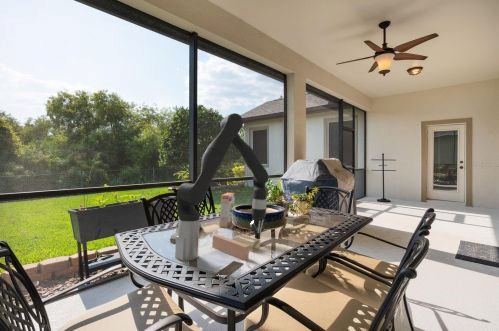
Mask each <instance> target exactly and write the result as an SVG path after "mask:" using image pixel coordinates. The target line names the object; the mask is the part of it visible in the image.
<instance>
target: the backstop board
mask: <svg viewBox="0 0 499 331" xmlns="http://www.w3.org/2000/svg"><path fill="white" fill-rule="evenodd" d="M211 244H212V245H211V246H212V249H213V248H214V249H216V250H218V251H220V252H224V253H225V254H228V255H231V256H233V257H235V258H238V259H240V260H241V261H242V260H243V261H246V260H249V256H250V255H249V254H250V253H249V252H250V251H249V245H246V244H243V243H240V242H237V241H235V239H231V238H229V237H225V236H224V235H220V234H213V235H212V243H211Z"/></svg>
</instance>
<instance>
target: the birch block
mask: <svg viewBox="0 0 499 331" xmlns="http://www.w3.org/2000/svg"><path fill="white" fill-rule="evenodd" d="M234 240H235V241H237V242H240V243H243V244H246V245H249V252H251V253H252V252H255V251H258V250H260V248H261V239H256V238H255V237H252V236H251V235H250V236H249V235H247V234H245V233H244V234H238V235H235V239H234Z"/></svg>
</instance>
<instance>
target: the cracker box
mask: <svg viewBox="0 0 499 331" xmlns="http://www.w3.org/2000/svg"><path fill="white" fill-rule="evenodd" d="M235 196H236V193H235V192H226V193H223V194H221V198H220V208H219V209H220V213H219V225H218V226H219V228H226V229H228V228H229V227H230V226H231V225H232V224H233V223H232V215H231V210H232V208H233V207H234V208H235Z"/></svg>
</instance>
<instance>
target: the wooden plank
mask: <svg viewBox="0 0 499 331" xmlns="http://www.w3.org/2000/svg"><path fill="white" fill-rule="evenodd" d="M243 265H244V263H243V262H240V261H236V260H232V261H231V262H230V263H228V264H227V265H225V266H224V267H222V269H219V270H218V271H217V272H215V273H214V274H213V276H214V275H218V274H219V275H229V274H230V275H232V274H233V273H234V272H235V271H237V270H238V269H239V268H241V266H243ZM233 271H234V272H233ZM232 272H233V273H232ZM230 275H229V276H230Z"/></svg>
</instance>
